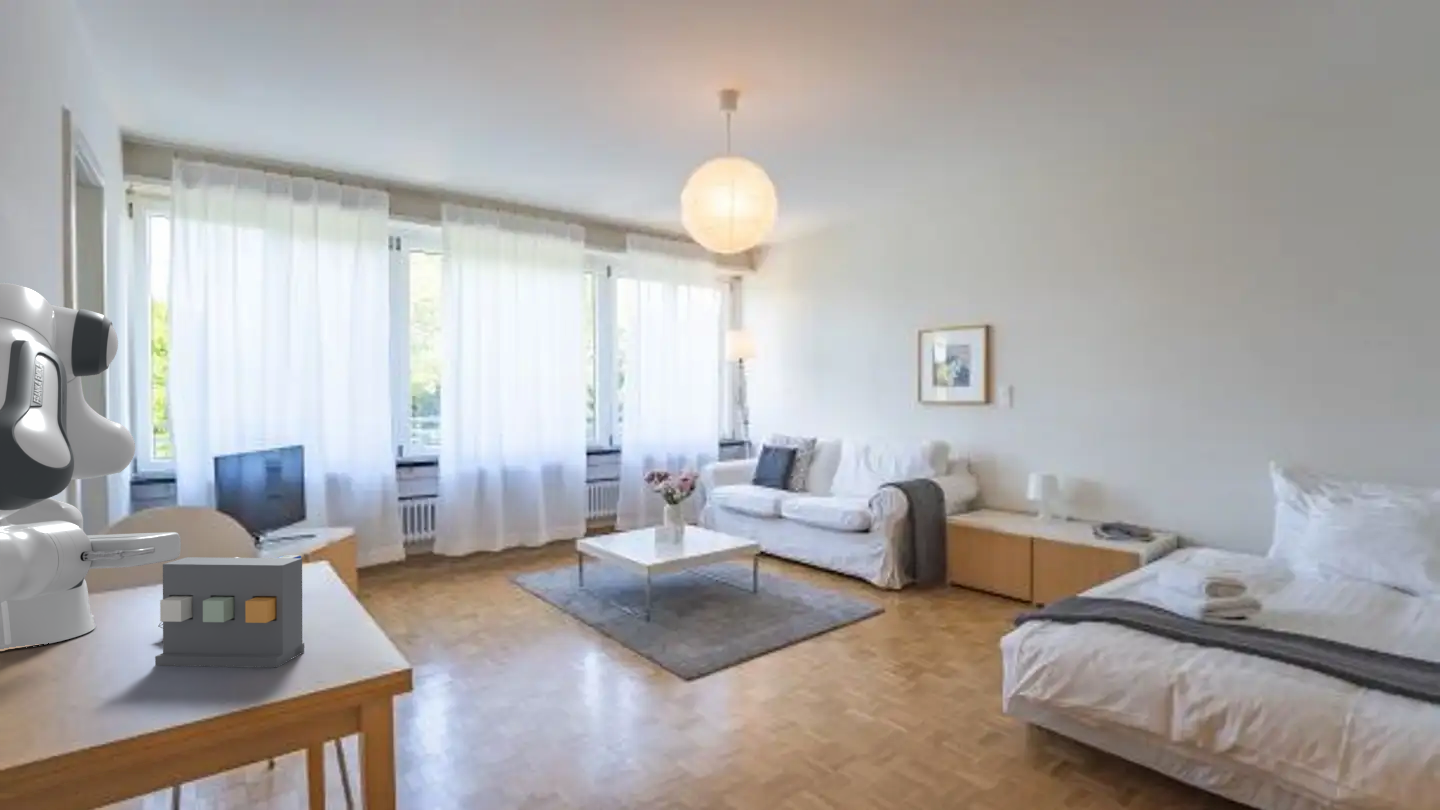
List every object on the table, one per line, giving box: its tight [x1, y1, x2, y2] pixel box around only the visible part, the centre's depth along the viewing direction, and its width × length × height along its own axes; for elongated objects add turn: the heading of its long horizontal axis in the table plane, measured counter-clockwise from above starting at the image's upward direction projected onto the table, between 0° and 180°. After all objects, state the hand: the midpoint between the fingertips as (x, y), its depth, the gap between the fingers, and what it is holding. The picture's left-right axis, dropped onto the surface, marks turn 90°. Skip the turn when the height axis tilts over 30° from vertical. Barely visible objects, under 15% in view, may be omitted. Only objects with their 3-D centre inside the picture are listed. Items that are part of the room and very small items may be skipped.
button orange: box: [245, 596, 277, 623], centre depth 112 cm, size 3×3×3 cm
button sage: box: [203, 596, 235, 622], centre depth 113 cm, size 3×3×3 cm
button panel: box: [154, 556, 305, 668], centre depth 115 cm, size 20×7×16 cm, turn 88°
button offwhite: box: [159, 595, 193, 622], centre depth 113 cm, size 3×3×3 cm
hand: (137, 542), depth 98 cm, fingers open, 8 cm apart
